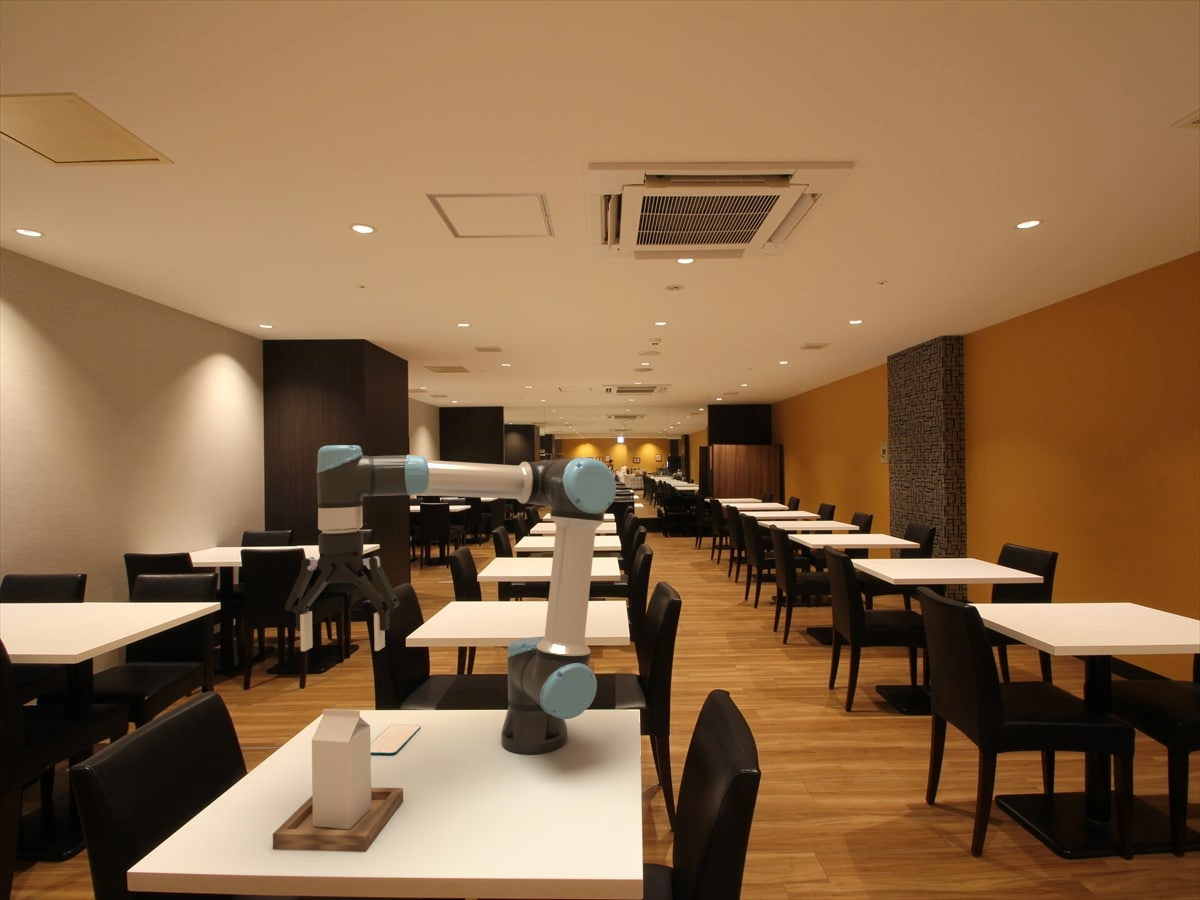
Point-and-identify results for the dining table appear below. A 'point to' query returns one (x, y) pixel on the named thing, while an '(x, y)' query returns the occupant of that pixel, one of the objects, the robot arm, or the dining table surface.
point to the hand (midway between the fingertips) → (343, 649)
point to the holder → (357, 838)
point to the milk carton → (341, 769)
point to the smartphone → (393, 739)
